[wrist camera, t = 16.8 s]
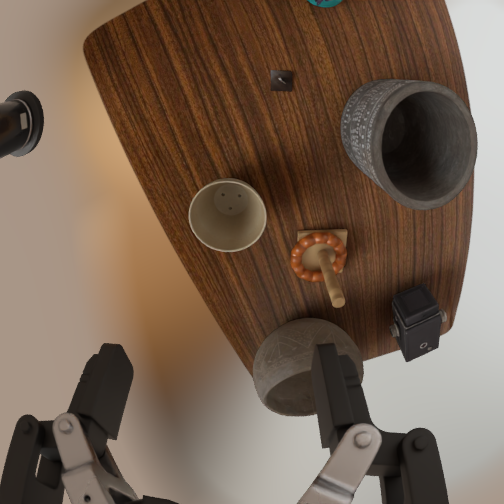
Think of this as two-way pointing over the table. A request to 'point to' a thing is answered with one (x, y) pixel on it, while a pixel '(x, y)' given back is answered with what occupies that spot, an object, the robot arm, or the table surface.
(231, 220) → the flower pot
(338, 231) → the stand
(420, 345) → the camera
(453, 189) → the planter
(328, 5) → the beverage can
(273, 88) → the small square plate
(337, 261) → the ring
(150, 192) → the table surface
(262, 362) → the bowl
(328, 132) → the table surface
